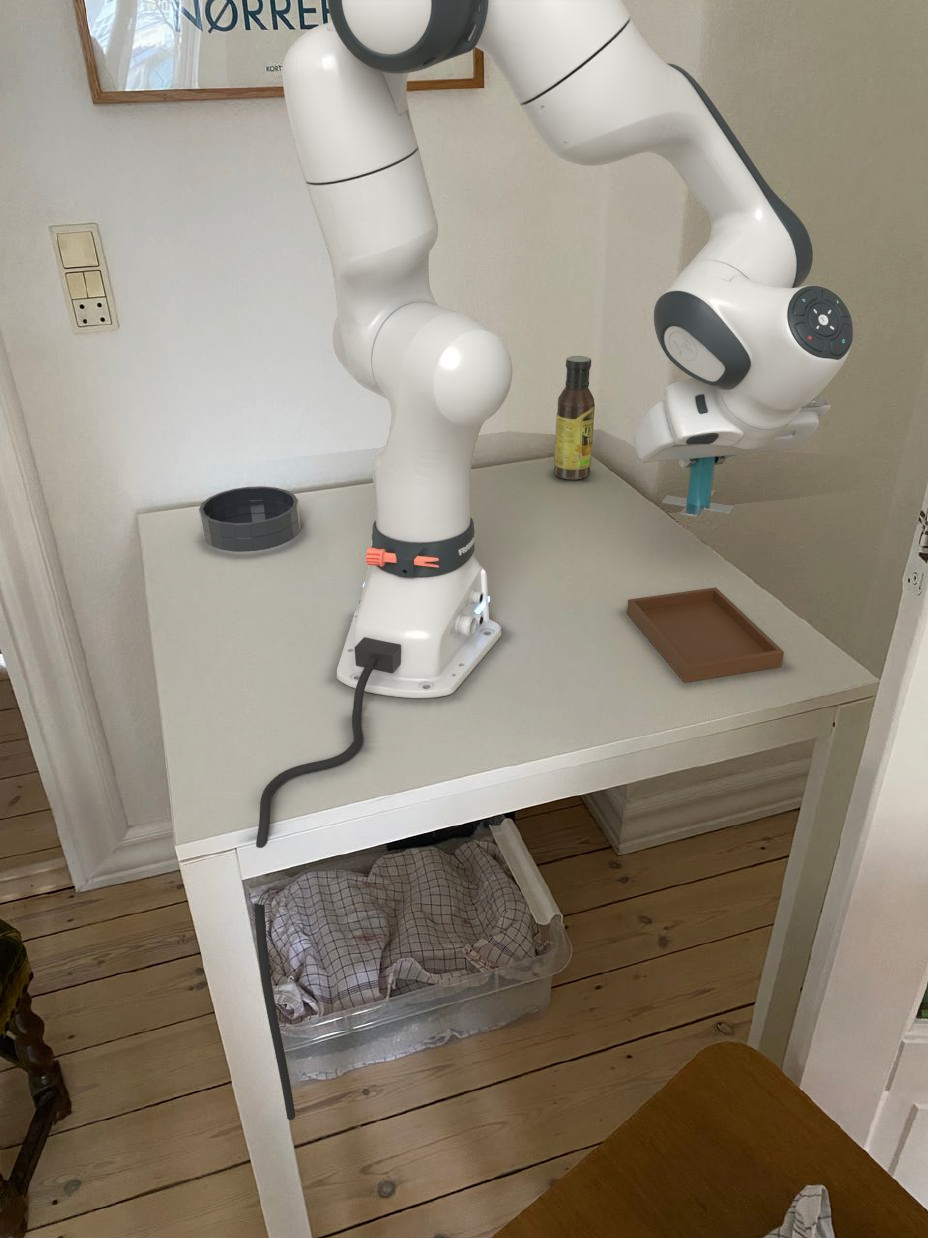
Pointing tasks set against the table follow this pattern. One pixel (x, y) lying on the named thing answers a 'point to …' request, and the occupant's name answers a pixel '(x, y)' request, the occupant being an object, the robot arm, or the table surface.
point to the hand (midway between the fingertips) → (700, 460)
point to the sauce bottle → (575, 422)
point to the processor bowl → (250, 518)
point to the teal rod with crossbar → (699, 491)
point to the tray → (703, 634)
